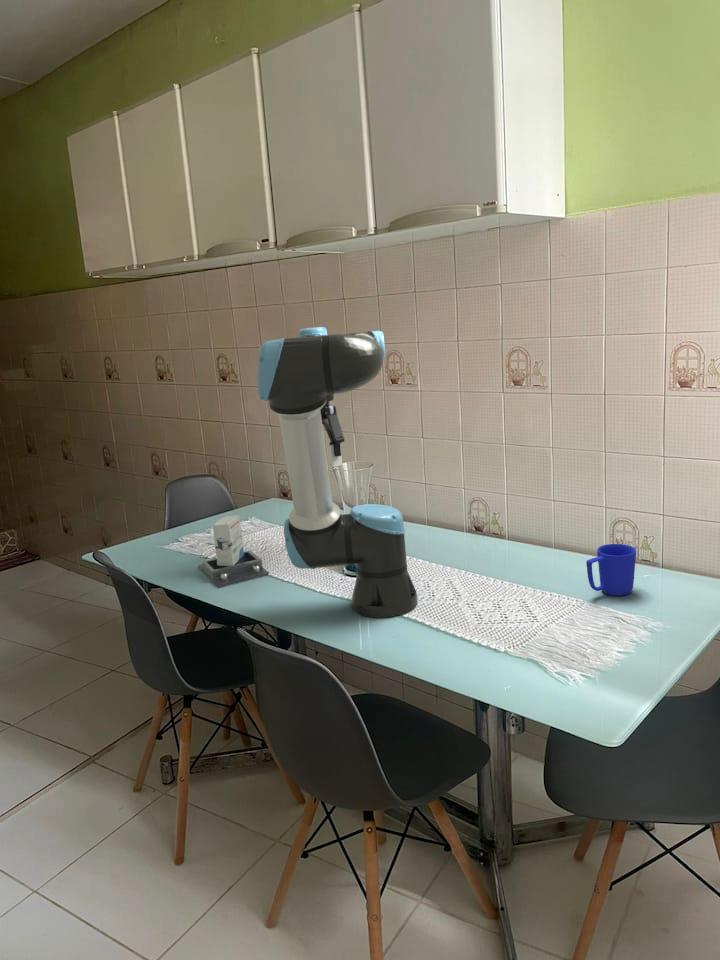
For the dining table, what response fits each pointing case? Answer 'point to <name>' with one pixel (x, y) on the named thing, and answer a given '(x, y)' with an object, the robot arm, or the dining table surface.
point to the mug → (614, 569)
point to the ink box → (228, 540)
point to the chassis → (234, 570)
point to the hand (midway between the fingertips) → (326, 464)
